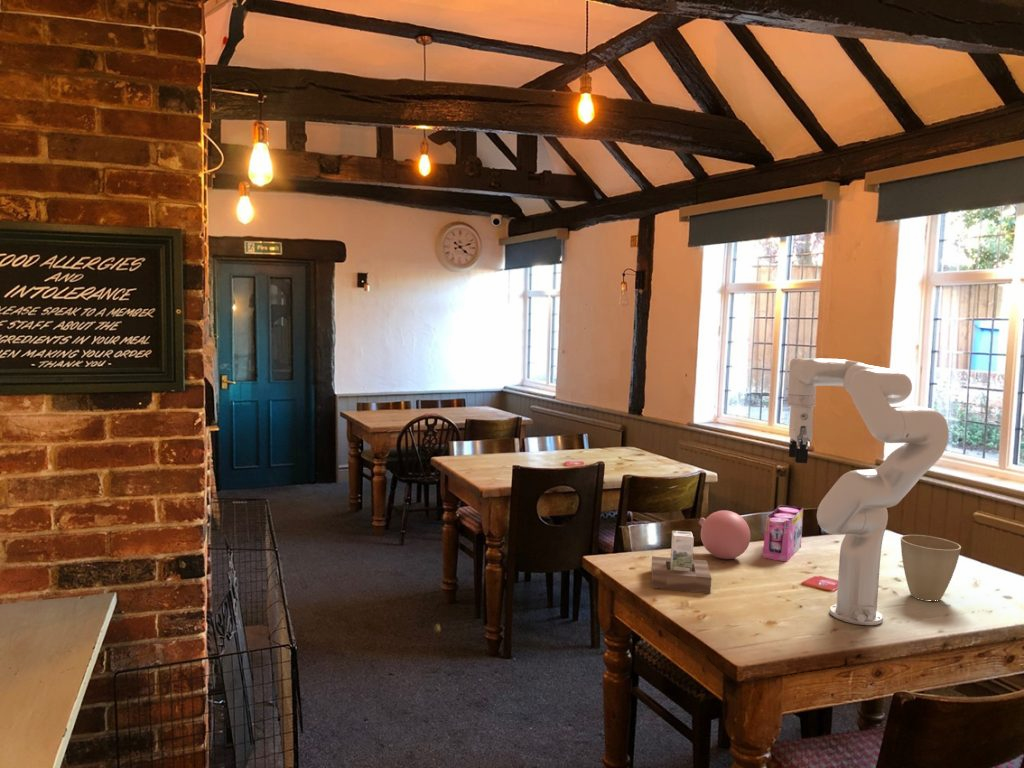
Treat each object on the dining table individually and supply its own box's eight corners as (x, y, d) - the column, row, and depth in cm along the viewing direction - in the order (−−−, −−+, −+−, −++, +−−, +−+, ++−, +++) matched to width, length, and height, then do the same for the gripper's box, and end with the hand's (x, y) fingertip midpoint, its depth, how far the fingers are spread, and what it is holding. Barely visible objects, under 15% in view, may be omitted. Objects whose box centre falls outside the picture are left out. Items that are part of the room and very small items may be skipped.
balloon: (720, 545, 261) (722, 501, 260) (759, 563, 243) (762, 515, 242) (681, 549, 256) (684, 503, 254) (719, 567, 237) (721, 518, 236)
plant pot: (925, 609, 206) (929, 550, 205) (884, 590, 221) (888, 535, 219) (969, 605, 210) (974, 548, 209) (927, 587, 225) (931, 533, 223)
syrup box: (689, 579, 224) (691, 530, 223) (691, 586, 218) (693, 536, 217) (669, 578, 225) (671, 529, 224) (670, 584, 219) (673, 534, 218)
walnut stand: (710, 593, 213) (711, 577, 212) (651, 588, 215) (652, 572, 215) (705, 575, 229) (706, 560, 228) (651, 570, 231) (652, 556, 231)
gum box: (786, 563, 244) (789, 521, 243) (761, 559, 248) (763, 517, 247) (801, 546, 264) (804, 507, 263) (777, 542, 268) (780, 504, 267)
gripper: (821, 404, 211) (818, 466, 213) (808, 399, 228) (805, 456, 230) (793, 403, 213) (789, 464, 214) (782, 397, 230) (779, 454, 231)
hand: (797, 459), depth 222 cm, fingers open, 9 cm apart
